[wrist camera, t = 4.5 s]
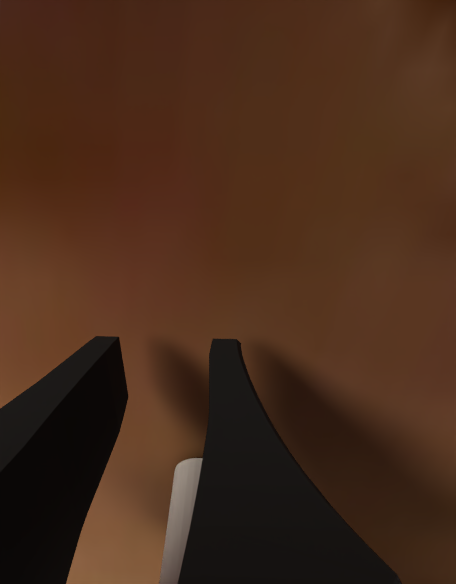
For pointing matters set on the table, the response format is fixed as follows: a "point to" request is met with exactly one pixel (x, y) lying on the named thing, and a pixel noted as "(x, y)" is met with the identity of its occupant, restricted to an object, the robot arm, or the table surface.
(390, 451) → the table surface
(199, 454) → the table surface
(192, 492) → the pipe connector
